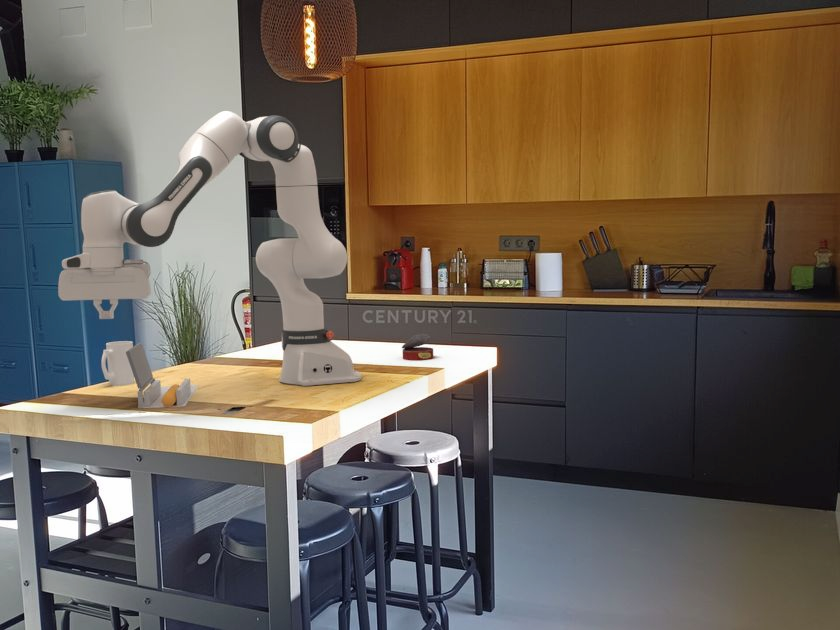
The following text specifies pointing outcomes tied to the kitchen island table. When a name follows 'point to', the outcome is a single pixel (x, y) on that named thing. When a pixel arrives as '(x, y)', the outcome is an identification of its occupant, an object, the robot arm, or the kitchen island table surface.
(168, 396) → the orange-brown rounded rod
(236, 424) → the kitchen island table surface
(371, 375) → the kitchen island table surface
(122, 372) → the mug
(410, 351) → the canned food
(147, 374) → the lid
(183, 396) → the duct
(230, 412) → the knife
